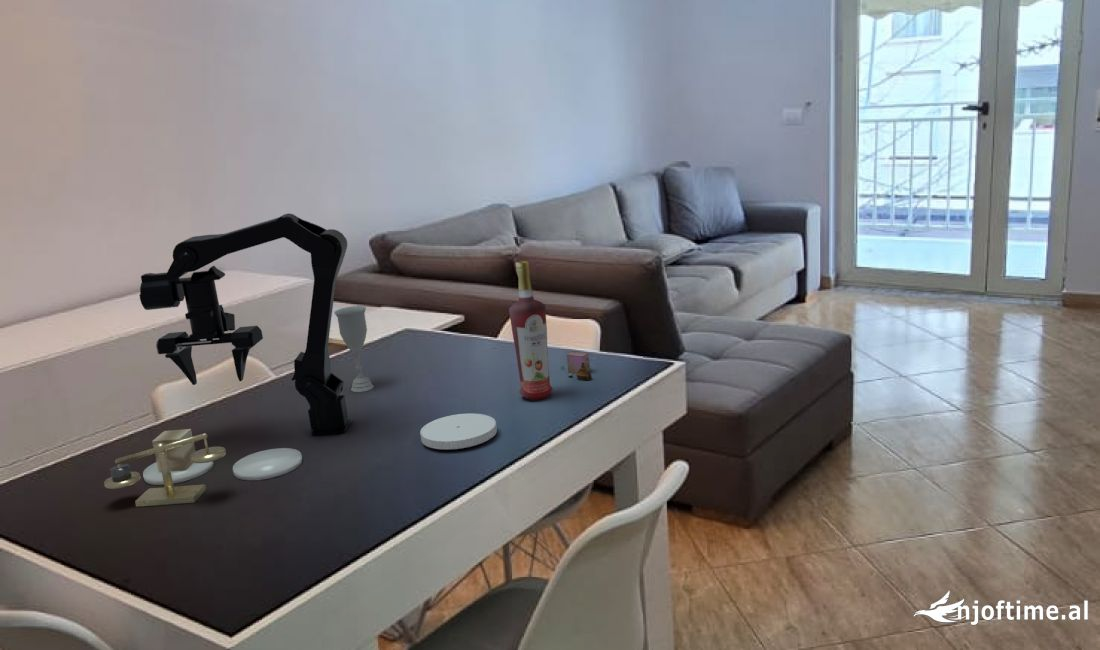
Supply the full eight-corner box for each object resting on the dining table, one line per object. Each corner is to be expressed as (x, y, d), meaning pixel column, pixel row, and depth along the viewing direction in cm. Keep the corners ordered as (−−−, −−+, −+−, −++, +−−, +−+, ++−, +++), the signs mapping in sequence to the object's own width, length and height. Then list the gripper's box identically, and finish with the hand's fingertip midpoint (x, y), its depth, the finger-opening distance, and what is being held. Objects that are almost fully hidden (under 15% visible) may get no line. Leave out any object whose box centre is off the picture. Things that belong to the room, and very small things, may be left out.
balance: (238, 486, 159) (226, 426, 156) (226, 501, 154) (213, 438, 151) (119, 495, 161) (105, 435, 158) (103, 509, 155) (88, 448, 152)
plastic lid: (406, 445, 171) (404, 432, 171) (462, 421, 181) (461, 408, 180) (456, 460, 162) (454, 447, 161) (513, 434, 172) (511, 421, 171)
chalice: (370, 393, 203) (358, 313, 198) (341, 393, 204) (328, 315, 200) (382, 382, 210) (371, 305, 205) (354, 383, 211) (342, 306, 207)
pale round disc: (223, 455, 174) (222, 450, 174) (197, 482, 163) (196, 477, 163) (162, 460, 175) (161, 455, 175) (131, 487, 164) (130, 482, 163)
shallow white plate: (310, 450, 172) (309, 445, 172) (290, 477, 161) (289, 472, 161) (247, 455, 173) (246, 450, 173) (223, 482, 162) (222, 477, 161)
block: (197, 459, 171) (191, 428, 170) (185, 470, 166) (179, 439, 165) (171, 461, 171) (164, 430, 170) (159, 472, 167) (152, 441, 165)
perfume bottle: (552, 380, 200) (550, 360, 199) (582, 363, 210) (580, 344, 209) (599, 386, 194) (597, 365, 192) (628, 368, 203) (626, 349, 202)
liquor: (526, 405, 185) (511, 268, 178) (513, 395, 192) (498, 263, 185) (560, 397, 188) (546, 261, 181) (545, 388, 195) (532, 257, 187)
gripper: (265, 290, 183) (278, 366, 186) (173, 298, 184) (188, 373, 188) (244, 303, 172) (259, 383, 176) (147, 312, 173) (164, 391, 177)
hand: (218, 382), depth 179 cm, fingers open, 9 cm apart
